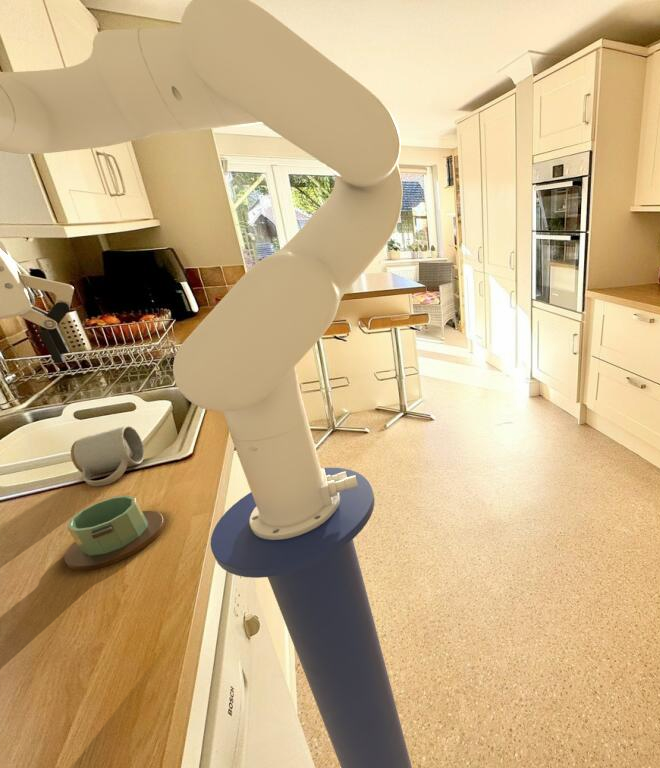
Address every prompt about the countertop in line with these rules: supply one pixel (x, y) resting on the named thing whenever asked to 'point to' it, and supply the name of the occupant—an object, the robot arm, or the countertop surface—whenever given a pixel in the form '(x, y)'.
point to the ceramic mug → (107, 453)
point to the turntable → (87, 562)
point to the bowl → (107, 525)
